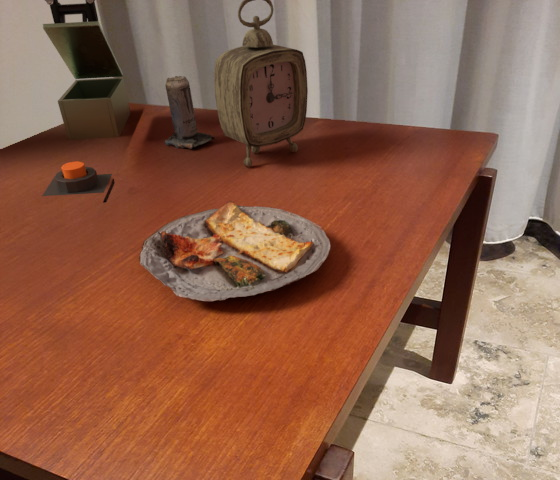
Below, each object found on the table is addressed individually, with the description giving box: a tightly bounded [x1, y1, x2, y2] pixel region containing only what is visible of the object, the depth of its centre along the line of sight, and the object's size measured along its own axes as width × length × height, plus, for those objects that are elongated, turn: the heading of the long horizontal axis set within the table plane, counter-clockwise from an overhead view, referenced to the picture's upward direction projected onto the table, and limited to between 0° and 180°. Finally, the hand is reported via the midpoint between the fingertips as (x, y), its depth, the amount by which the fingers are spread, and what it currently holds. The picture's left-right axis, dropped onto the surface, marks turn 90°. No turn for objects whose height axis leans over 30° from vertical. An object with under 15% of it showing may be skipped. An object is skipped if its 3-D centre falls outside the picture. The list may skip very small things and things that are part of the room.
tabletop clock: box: [213, 0, 309, 168], centre depth 95 cm, size 14×9×25 cm, turn 129°
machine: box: [57, 76, 131, 141], centre depth 113 cm, size 16×10×9 cm, turn 3°
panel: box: [41, 165, 115, 204], centre depth 92 cm, size 10×8×4 cm
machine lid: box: [42, 2, 124, 80], centre depth 108 cm, size 16×10×5 cm
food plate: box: [138, 200, 331, 302], centre depth 73 cm, size 25×23×4 cm
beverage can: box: [164, 75, 216, 150], centre depth 106 cm, size 9×8×12 cm
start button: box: [61, 161, 87, 179], centre depth 90 cm, size 4×4×2 cm
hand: (77, 27), depth 103 cm, fingers closed on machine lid, 5 cm apart
